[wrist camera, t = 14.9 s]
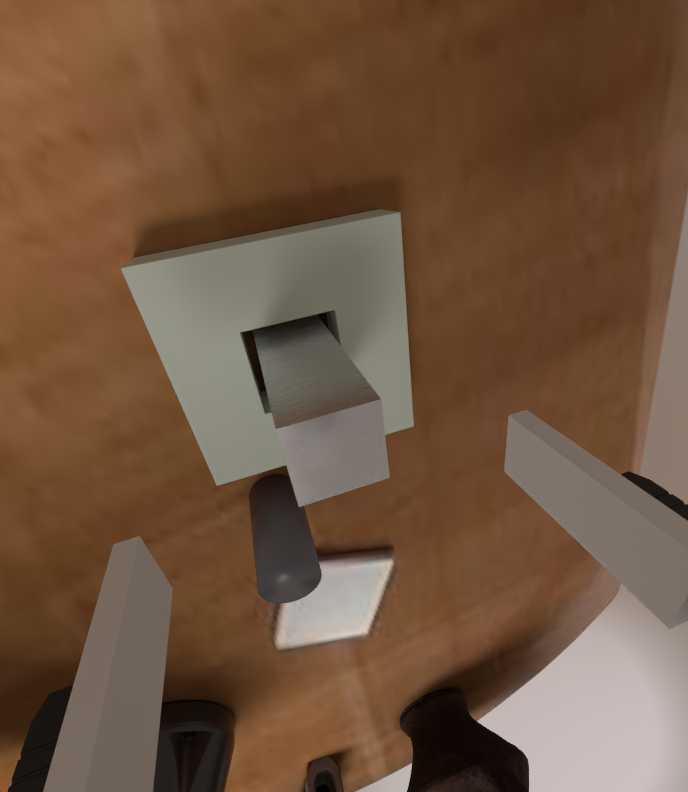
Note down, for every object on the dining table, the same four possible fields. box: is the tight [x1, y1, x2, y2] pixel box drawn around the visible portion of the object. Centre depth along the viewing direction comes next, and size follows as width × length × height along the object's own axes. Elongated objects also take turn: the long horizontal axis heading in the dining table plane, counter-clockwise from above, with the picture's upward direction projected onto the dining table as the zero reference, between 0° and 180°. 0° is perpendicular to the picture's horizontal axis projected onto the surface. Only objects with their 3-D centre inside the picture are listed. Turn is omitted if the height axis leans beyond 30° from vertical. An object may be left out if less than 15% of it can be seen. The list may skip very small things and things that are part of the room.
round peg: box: [249, 475, 322, 603], centre depth 27 cm, size 4×4×8 cm
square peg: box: [252, 314, 390, 507], centre depth 20 cm, size 4×4×12 cm
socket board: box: [121, 209, 414, 486], centre depth 24 cm, size 14×14×3 cm
